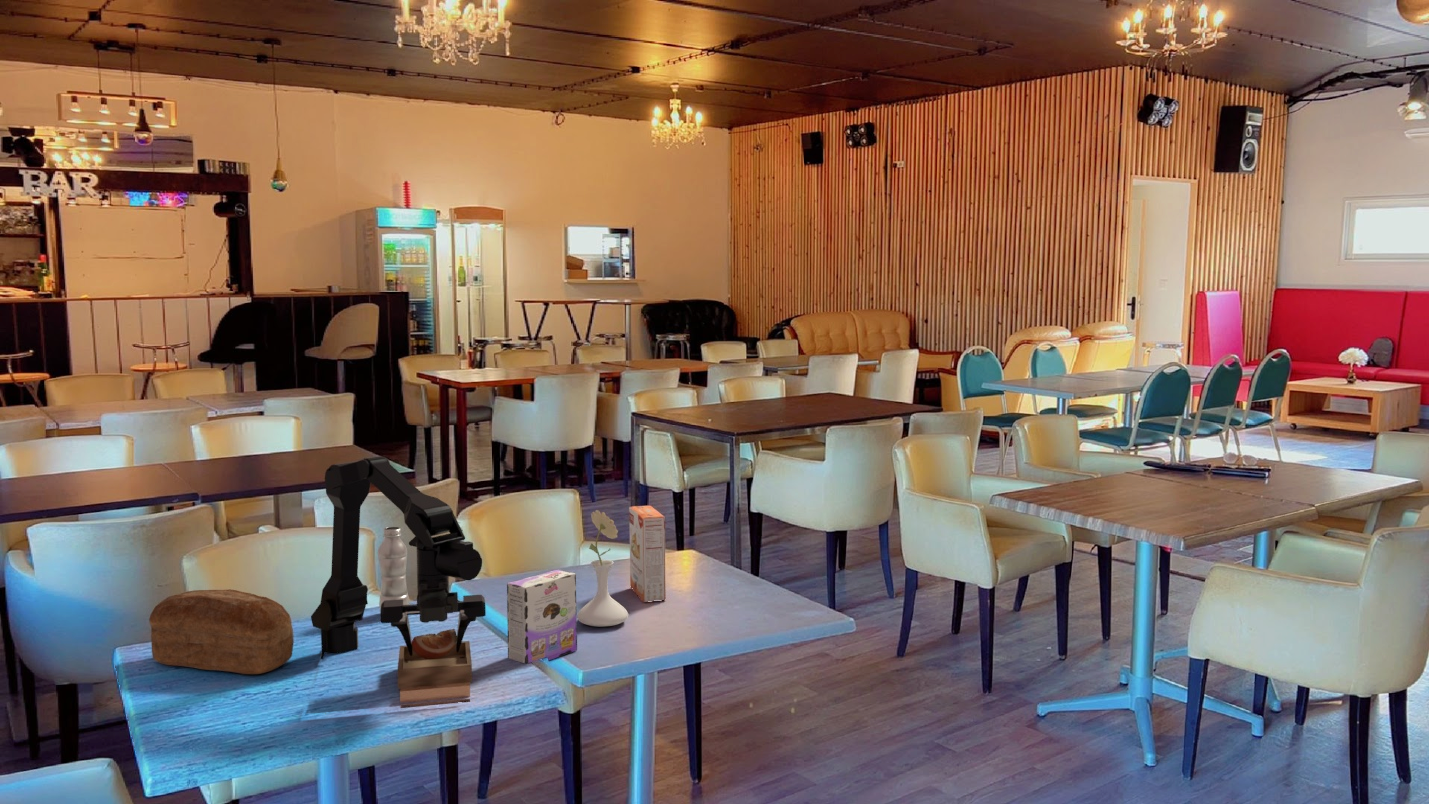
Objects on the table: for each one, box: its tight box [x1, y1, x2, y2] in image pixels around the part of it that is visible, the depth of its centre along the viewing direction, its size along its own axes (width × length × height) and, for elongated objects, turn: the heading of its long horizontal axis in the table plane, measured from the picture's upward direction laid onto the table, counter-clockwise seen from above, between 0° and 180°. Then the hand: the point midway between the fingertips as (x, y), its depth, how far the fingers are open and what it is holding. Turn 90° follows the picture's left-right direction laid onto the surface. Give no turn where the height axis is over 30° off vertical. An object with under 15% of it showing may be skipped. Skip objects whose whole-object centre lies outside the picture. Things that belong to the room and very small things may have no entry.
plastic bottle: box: [377, 526, 410, 611], centre depth 241 cm, size 6×7×20 cm
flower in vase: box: [577, 509, 629, 628], centre depth 236 cm, size 13×11×25 cm
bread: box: [148, 588, 294, 675], centre depth 209 cm, size 12×28×14 cm, turn 75°
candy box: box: [506, 569, 578, 665], centre depth 213 cm, size 14×6×16 cm, turn 141°
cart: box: [397, 640, 473, 690], centre depth 199 cm, size 13×14×4 cm
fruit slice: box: [412, 628, 457, 659], centre depth 198 cm, size 8×7×5 cm
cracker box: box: [628, 505, 667, 603], centre depth 258 cm, size 14×6×21 cm, turn 17°
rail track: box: [399, 682, 471, 709], centre depth 202 cm, size 12×28×3 cm, turn 15°
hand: (434, 653), depth 198 cm, fingers closed on fruit slice, 8 cm apart
